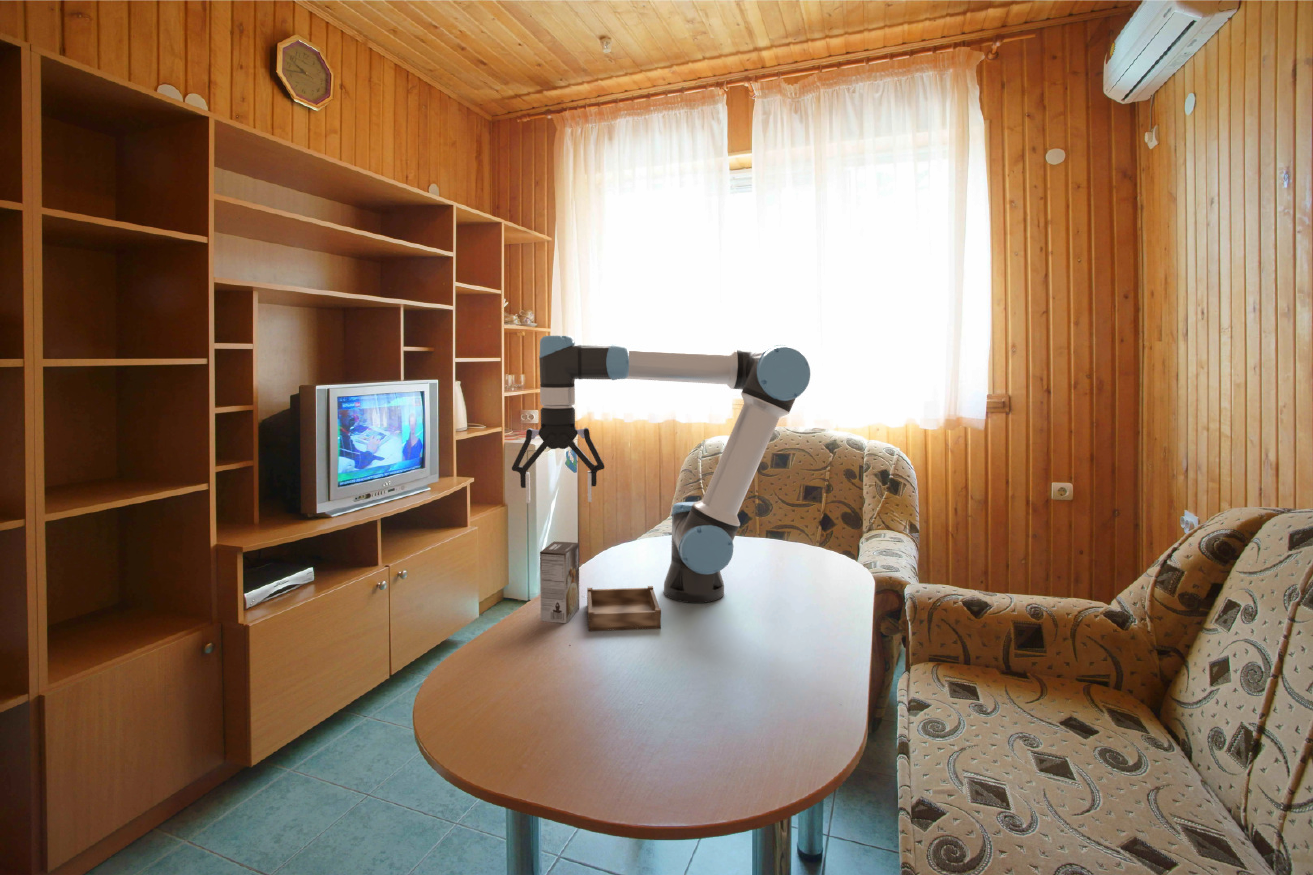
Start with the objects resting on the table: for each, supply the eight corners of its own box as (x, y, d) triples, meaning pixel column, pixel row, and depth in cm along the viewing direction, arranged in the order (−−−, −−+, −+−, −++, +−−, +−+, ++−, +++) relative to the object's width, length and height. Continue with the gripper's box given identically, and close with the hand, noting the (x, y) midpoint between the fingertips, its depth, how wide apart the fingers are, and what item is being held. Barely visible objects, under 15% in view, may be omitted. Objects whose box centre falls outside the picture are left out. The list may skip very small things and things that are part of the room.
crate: (652, 602, 163) (652, 585, 163) (660, 628, 148) (660, 609, 147) (587, 604, 161) (587, 587, 161) (588, 631, 146) (588, 612, 145)
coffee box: (554, 606, 160) (553, 540, 158) (580, 609, 159) (580, 542, 157) (539, 621, 151) (539, 551, 149) (567, 624, 150) (567, 553, 148)
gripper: (613, 405, 154) (613, 496, 157) (501, 405, 151) (503, 499, 154) (615, 407, 147) (616, 503, 150) (497, 408, 144) (500, 506, 146)
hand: (559, 501), depth 152 cm, fingers open, 13 cm apart
